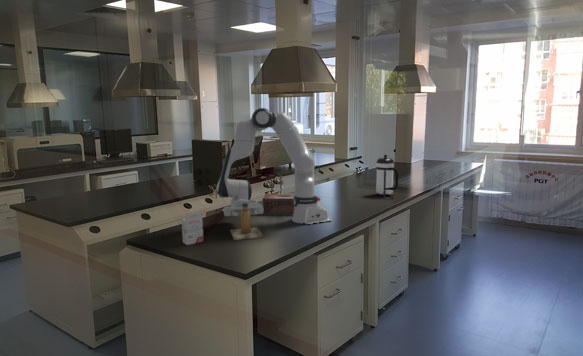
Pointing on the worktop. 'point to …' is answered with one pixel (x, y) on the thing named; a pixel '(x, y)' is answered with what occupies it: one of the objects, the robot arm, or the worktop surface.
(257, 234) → the birch board
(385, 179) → the coffee press
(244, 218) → the reagent bottle
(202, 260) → the worktop surface
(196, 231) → the ink cartridge box
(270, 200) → the tissue box cover
